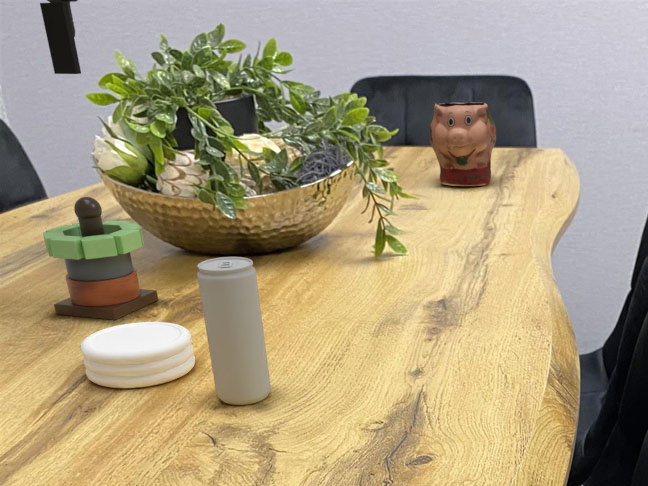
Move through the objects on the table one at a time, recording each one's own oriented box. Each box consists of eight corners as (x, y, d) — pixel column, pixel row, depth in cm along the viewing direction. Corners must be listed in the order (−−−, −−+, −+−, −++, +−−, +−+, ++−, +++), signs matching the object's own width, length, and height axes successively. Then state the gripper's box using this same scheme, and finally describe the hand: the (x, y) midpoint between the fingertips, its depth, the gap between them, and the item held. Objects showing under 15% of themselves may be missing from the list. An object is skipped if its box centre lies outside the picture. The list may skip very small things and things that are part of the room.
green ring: (27, 255, 106) (23, 237, 105) (88, 235, 114) (84, 218, 113) (104, 261, 103) (100, 243, 102) (160, 240, 111) (157, 223, 110)
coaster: (81, 395, 87) (73, 358, 86) (92, 359, 96) (84, 325, 94) (196, 383, 90) (190, 347, 88) (196, 349, 98) (190, 316, 97)
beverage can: (214, 408, 84) (192, 272, 79) (219, 388, 88) (198, 258, 83) (271, 404, 85) (252, 269, 79) (273, 385, 89) (256, 254, 84)
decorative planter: (430, 173, 189) (427, 97, 182) (492, 172, 189) (491, 95, 183) (432, 193, 171) (428, 108, 165) (501, 191, 172) (500, 107, 165)
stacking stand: (55, 314, 110) (29, 202, 104) (101, 295, 116) (79, 188, 110) (115, 320, 107) (91, 205, 101) (158, 300, 114) (138, 191, 108)
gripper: (-131, -214, 72) (-51, 92, 82) (91, -170, 93) (133, 69, 103) (-205, -207, 75) (-119, 90, 85) (28, -166, 95) (75, 69, 105)
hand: (20, 79), depth 94 cm, fingers open, 13 cm apart
